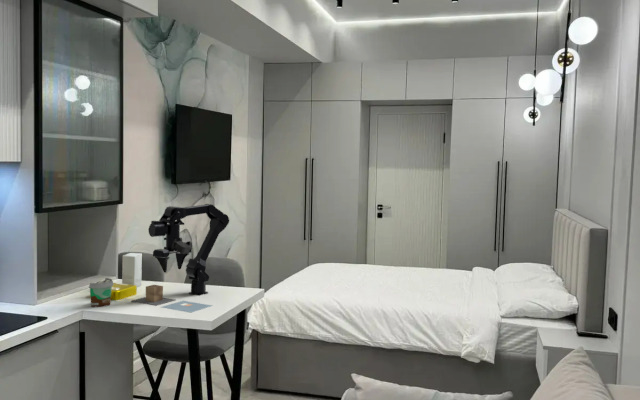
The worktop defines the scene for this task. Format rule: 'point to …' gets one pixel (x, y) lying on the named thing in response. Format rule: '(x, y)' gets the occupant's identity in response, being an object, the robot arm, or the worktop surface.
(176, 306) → the card
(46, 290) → the worktop surface
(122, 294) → the element tile
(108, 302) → the food container
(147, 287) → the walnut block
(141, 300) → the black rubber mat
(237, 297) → the worktop surface
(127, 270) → the skincare box
